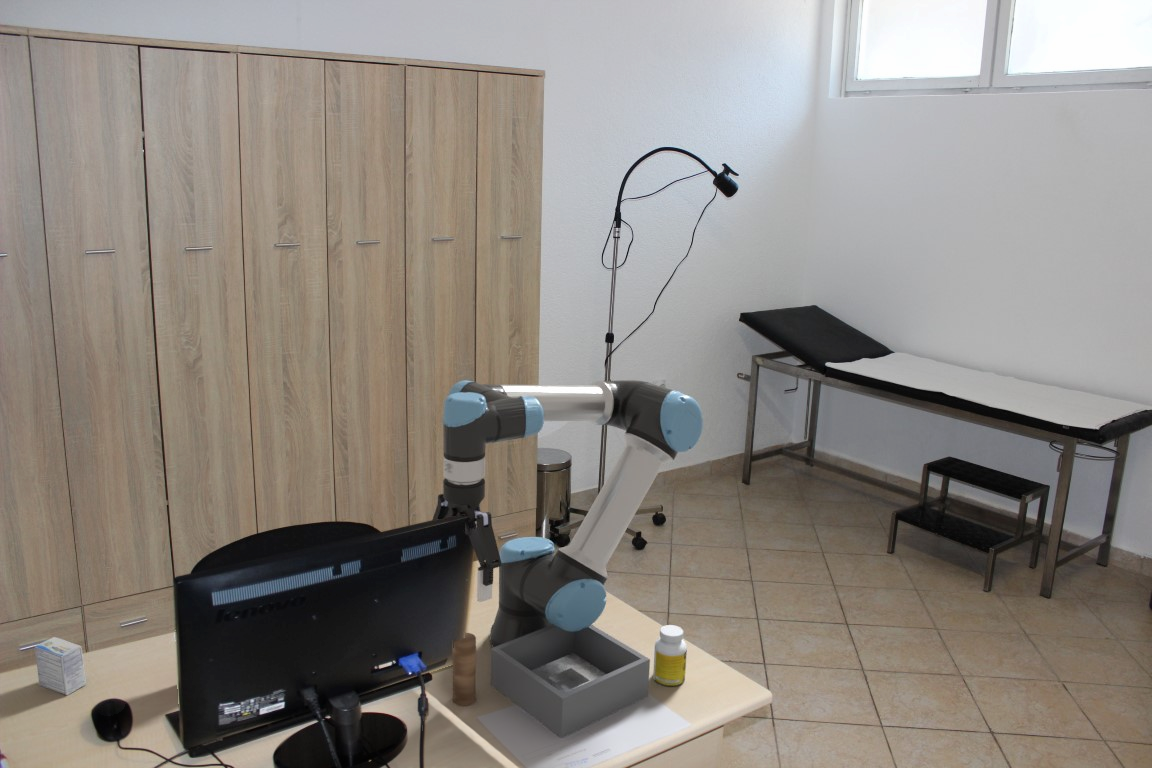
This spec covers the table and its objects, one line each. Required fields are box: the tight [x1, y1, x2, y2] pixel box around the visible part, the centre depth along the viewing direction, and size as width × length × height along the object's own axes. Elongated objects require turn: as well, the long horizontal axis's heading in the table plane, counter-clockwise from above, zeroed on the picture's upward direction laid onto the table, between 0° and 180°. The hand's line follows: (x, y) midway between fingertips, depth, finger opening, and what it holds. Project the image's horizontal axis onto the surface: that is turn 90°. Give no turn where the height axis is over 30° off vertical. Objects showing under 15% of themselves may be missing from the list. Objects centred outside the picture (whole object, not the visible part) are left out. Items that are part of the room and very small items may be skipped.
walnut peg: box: [452, 632, 477, 707], centre depth 178 cm, size 4×4×14 cm
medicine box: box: [34, 636, 87, 696], centre depth 181 cm, size 8×4×9 cm, turn 65°
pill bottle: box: [652, 624, 688, 688], centre depth 188 cm, size 6×6×12 cm
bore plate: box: [531, 653, 606, 693], centre depth 184 cm, size 14×14×2 cm
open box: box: [490, 624, 651, 739], centre depth 183 cm, size 22×22×9 cm
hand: (463, 586), depth 174 cm, fingers open, 13 cm apart
